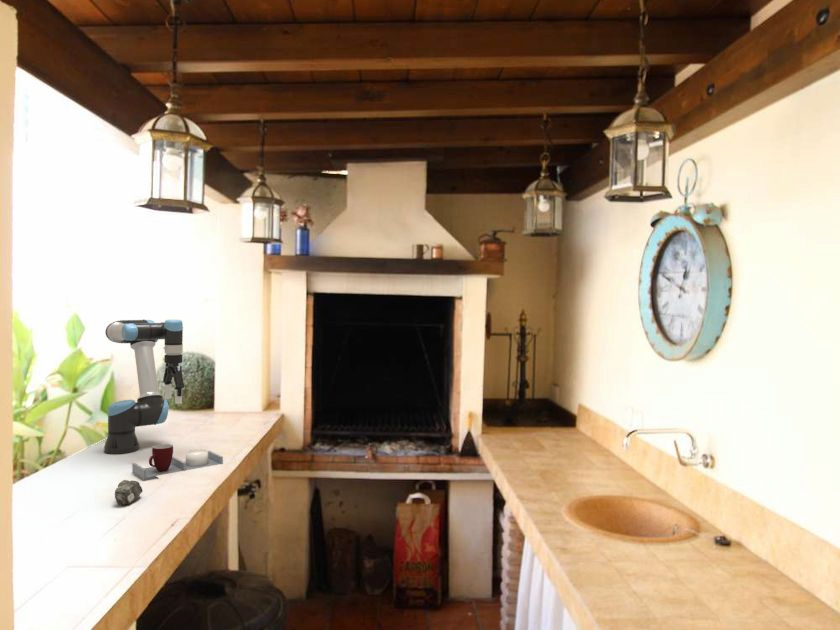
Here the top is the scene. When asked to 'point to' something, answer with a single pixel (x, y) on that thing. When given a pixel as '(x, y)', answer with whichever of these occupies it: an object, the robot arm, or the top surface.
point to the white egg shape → (197, 458)
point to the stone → (127, 492)
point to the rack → (173, 467)
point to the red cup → (161, 457)
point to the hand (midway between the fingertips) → (173, 401)
